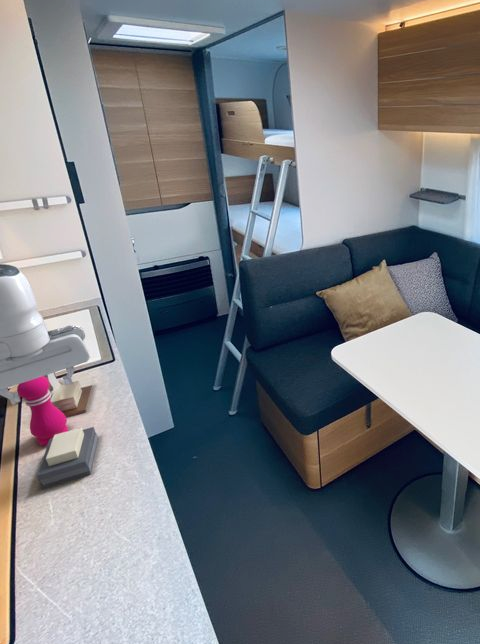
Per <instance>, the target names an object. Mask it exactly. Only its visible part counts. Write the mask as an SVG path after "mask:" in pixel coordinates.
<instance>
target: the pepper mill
mask: <svg viewBox="0 0 480 644" xmlns="http://www.w3.org/2000/svg"><path fill="white" fill-rule="evenodd" d="M49 386H50V384H49V381H48V379H47V378H46V377H44V376H42V377H39V378H36V379H33V380H30V381H27V382H24V383H21V384H18V385H17V387H16V392H18V393H19V396H20V398H21V399H23V402H24V404H25V405H26V406H28V407H29V409H30V412H31V415H30V422H29V430H30V434H31V435H32V436H33V437H35V438H36V442H37V443H38V445H40V446H48V443H49V440H50V439H51V438H53V437H54V435H56V434H59V433H63V432H67V431H69V428H68V426H67V422H68V418H67V417H66V416H65V415H64V413H63V412H62V411H60V410H59V409H57V408H56V407H54V405H53V404H52V402H51V400H50V398H51V396H52V393H50V391H49V390H48V389H49Z"/></svg>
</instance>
